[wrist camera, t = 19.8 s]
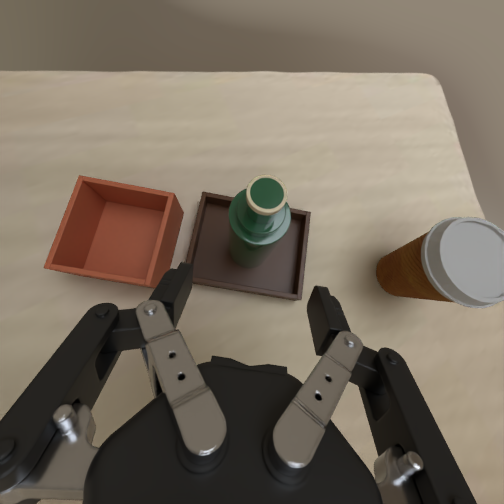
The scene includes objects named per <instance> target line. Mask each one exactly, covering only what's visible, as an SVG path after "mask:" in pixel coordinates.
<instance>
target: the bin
mask: <svg viewBox="0 0 504 504" xmlns="http://www.w3.org/2000/svg"><path fill="white" fill-rule="evenodd" d="M183 214H184V212H183V210H182V208H181V206H180V204H179V202H178V200H177V198H176V196H175V194H174V193H169V192H165V191H160V190H155V189H149V188H144V187H139V186H133V185H128V184H123V183H117V182H112V181H107V180H101V179H96V178H91V177H85V176H80V175H79V177H78V180H77V182H76V185H75V188H74V190H73V193H72V195H71V198H70V201H69V203H68V206H67V208H66V211H65V214H64V216H63V219H62V221H61V224H60V227H59V229H58V232H57V234H56V237H55V240H54V242H53V245H52V247H51V250H50V253H49V255H48V258H47V260H46V263H45V265H44V268H46V269H50V270H55V271H60V272H64V273H69V274H74V275H79V276H85V277H91V278H97V279H103V280H109V281H115V282H121V283H127V284H133V285H139V286H145V287H151V288H156V287H157V285H158V284H159V282H160V280H161V279H162V277H163V275H164V274H165V272H167V271H168V270H170V266H171V262H172V258H173V254H174V250H175V246H176V242H177V238H178V234H179V230H180V226H181V222H182V218H183Z"/></svg>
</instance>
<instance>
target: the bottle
mask: <svg viewBox="0 0 504 504" xmlns="http://www.w3.org/2000/svg"><path fill="white" fill-rule="evenodd" d="M286 201H287V190H286V187H285V185H284V184H283V182H282V181H281V180H279V179H278V178H276V177H274V176H271V175H260V176H257V177H255V178H254V179H253V180H251V181H250V183H249V184H248V186H247V189H244V190H243V191H241V192H240V193H238V194H237V195H236V196H235V197H234V199H233V200H232V202H231V204H230V207H229V213H228V220H229V253H230V256H231V258H232V260H233V261H234V262H235V263H236V264H237V265H239V266H240V267H243V268H248V269H251V268H256V267H258V266H260V265H262V264H263V263H264V262H265V260H266V259H267V258H268V256H269V255H270V254H271V252H272V251H273V250H274V248H275V247H276V246H277V244H278V243H279V242H280V240H281V239H282V238H283V236H284V235H285V234H286V232H287V231H288V229H289V226H290V222H291V212H290V208H289V206H288V203H287V202H286Z"/></svg>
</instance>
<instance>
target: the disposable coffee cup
mask: <svg viewBox="0 0 504 504" xmlns="http://www.w3.org/2000/svg"><path fill="white" fill-rule="evenodd" d="M376 275H377V279H378V282H379V283H380V285H381V287H382V288H383V289H384V290H385V291H386V292H388V293H389V294H391V295H394V296H400V297H410V298H419V299H428V300H437V301H446V302H455V303H458V304H460V305H463V306H466V307H471V308H486V307H490V306H493V305H494V304H496V303H498V302H501V301H503V300H504V232H503V231H502V230H501V229H500V228H499V227H497V226H496V225H494V224H492V223H491V222H489V221H486V220H484V219H481V218H476V217H465V218H462V217H452V218H448V219H445V220H442V221H441V222H439V223H437V224H436V225H435V226H434V227H432V228H431V230H430V231H429V232H428V233H426V234H424V235H422V236H420V237H419V238H417V239H415V240H413V241H411V242H410V243H408V244H406V245H404V246H403V247H400V248H399V249H397V250H395V251H393V252H392V253H390V254H388V255H386V256H384V257H383V258H381V260H380V261H379V263H378V265H377V269H376Z"/></svg>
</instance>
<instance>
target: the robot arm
mask: <svg viewBox="0 0 504 504" xmlns="http://www.w3.org/2000/svg"><path fill="white" fill-rule="evenodd" d="M192 282H193V264H190V263H184V262H181V263H180V265H179V267H178V269H172V268H171V269H170V270H168V271H167V272H165V274H164V275H163V277H162V279H161V280H160V282H159V284H158V285H157V287H156V288H155V290H154V291H153V293H152V295H151V296H150V298H149V300H148V301H144V302H142V303H141V304H139V305H138V306H137V308H134V309H125V310H118V307H117V306H116V305H114V304H112V303H101V304H98V305H95V306H93V307H92V308H90V309H89V310H88V311H87V313H86V314H85V315H84V316H83V318H82V319H81V320H80V321H79V323H78V324H77V325H76V326H75V328H74V329H73V330H72V331H71V333H70V334H69V335H68V336H67V338H66V339H65V340H64V342H63V343H62V344H61V345H60V347H59V348H58V349H57V350H56V352H55V353H54V354H53V355H52V357H51V358H50V359H49V360H48V362H47V363H46V364H45V365H44V367H43V368H42V369H41V370H40V372H39V373H38V374H37V376H36V377H35V378H34V379H33V381H32V382H31V383H30V384H29V386H28V387H27V388H26V389H25V391H24V392H23V393H22V394H21V396H20V397H19V398H18V399H17V401H16V402H15V403H14V405H13V406H12V407H11V408H10V410H9V411H8V412H7V413H6V415H5V416H4V417H3V418H2V420H1V421H0V504H36V503H37V502H38V501H40V500H41V499H57V500H83V504H477V503H476V501H475V499H474V497H473V495H472V493H471V491H470V489H469V487H468V485H467V483H466V481H465V479H464V477H463V475H462V473H461V471H460V469H459V467H458V465H457V463H456V461H455V459H454V457H453V455H452V453H451V451H450V449H449V447H448V445H447V443H446V441H445V439H444V437H443V435H442V433H441V431H440V429H439V428H438V426H437V424H436V422H435V420H434V418H433V416H432V414H431V412H430V410H429V408H428V406H427V404H426V402H425V400H424V398H423V396H422V394H421V392H420V390H419V388H418V386H417V384H416V382H415V380H414V378H413V376H412V374H411V372H410V370H409V368H408V366H407V364H406V362H405V360H404V359H403V358H402V357H401V356H400V355H399V354H398V353H397V352H395V351H394V350H392V349H389V348H381V349H380V350H379V351H378V352H377V351H374V350H372V349H370V348H367V347H365V346H363V344H362V342H361V340H360V339H359V338H358V337H357V336H356V335H355V334H353V333H351V331H350V328H349V326H348V323H347V320H346V318H345V315H344V313H343V310H342V308H341V305H340V303H339V301H338V300H337V299H336V298H335V297H334V296H331V295H330V293H329V290H328V288H327V287H322V286H315V287H314V289H313V291H312V294H311V296H310V298H309V301H308V304H307V314H308V319H309V324H310V328H311V333H312V338H313V342H314V347H315V352H316V355H318V356H322V357H321V359H320V360H319V362H318V363H317V365H316V366H315V368H314V369H313V371H312V372H311V374H310V375H309V377H308V378H307V380H306V381H305V383H304V384H302V383H301V382H300V381H299V380H298V379H296V378H295V377H293V376H292V375H290V374H287V367H284V366H277V365H270V364H266V365H256V366H248V365H245V364H243V363H240V362H238V361H236V360H233V359H231V358H224V357H218V356H212V358H211V362H205V363H201V364H198V365H196V363H195V361H194V359H193V357H192V355H191V353H190V351H189V349H188V347H187V345H186V343H185V340H184V338H183V336H182V334H181V332H180V331H179V330H175V328H176V326H177V323H178V321H179V319H180V316H181V314H182V311H183V309H184V306H185V304H186V302H187V299H188V297H189V294H190V292H191V288H192ZM138 348H140V350H141V353H142V356H143V359H144V362H145V366H146V369H147V372H148V375H149V379H150V384H151V389H152V392H153V396H154V399H153V400H152V401H151V402H150V403H148V404H147V405H146V406H145V407H144V408H142V409H141V410H140V411H139V412H138V413H136V414H135V415H134V416H133V417H132V418H131V419H129V420H128V421H127V422H126V423H125V424H123V425H122V426H121V427H120V428H119V429H117V430H116V431H115V432H114V433H113V434H112V435H110V436H109V437H108V438H107V439H106V441H105V442H104V443H103V444H102V445H101V447H100V448H97V447H94V446H93V445H92V442H93V438H94V435H95V431H96V424H95V421H94V418H93V416H92V413H91V410H92V408H93V406H94V404H95V402H96V400H97V398H98V396H99V394H100V392H101V391H102V389H103V387H104V385H105V383H106V381H107V379H108V377H109V375H110V373H111V371H112V369H113V368H114V366H115V364H116V362H117V360H118V358H119V356H120V354H121V352H122V351H124V350H131V349H138ZM348 381H349V382H351V383H354V384H356V385H358V387H359V390H360V394H361V397H362V401H363V404H364V408H365V411H366V415H367V418H368V422H369V425H370V429H371V432H372V436H373V439H374V443H375V446H376V450H377V453H378V458H377V459H376V460H375V462H374V474H375V479H374V477H373V475H372V474H371V472H370V471H369V469H368V468H367V466H366V465H365V464H364V462H363V461H362V460H361V458H360V457H359V456H358V455H357V453H356V452H355V451H354V449H353V448H352V447H351V445H350V444H349V443H348V442H347V440H346V439H345V438H344V436H343V435H342V434H341V432H340V431H339V430H338V428H337V427H336V426H335V425H334V423H333V422H332V421H331V419H330V418H331V416H332V414H333V412H334V410H335V408H336V406H337V404H338V402H339V400H340V397H341V395H342V393H343V391H344V389H345V387H346V385H347V383H348Z"/></svg>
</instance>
